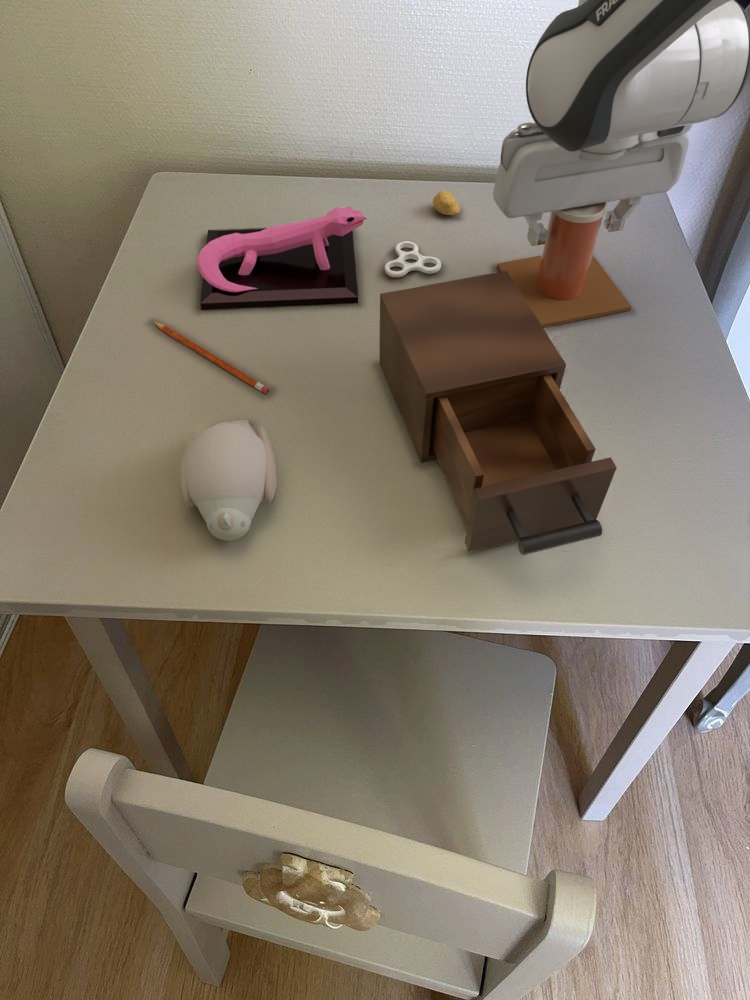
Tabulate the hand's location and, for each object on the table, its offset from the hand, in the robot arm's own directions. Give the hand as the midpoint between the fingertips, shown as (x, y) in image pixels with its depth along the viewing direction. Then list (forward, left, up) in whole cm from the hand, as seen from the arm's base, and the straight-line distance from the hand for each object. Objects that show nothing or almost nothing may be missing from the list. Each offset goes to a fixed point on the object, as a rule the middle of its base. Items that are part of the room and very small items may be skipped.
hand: (574, 235), depth 87 cm
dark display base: (+31, -13, -7) cm, 34 cm away
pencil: (+42, 0, -8) cm, 43 cm away
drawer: (+18, +28, -6) cm, 34 cm away
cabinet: (+18, +14, -7) cm, 24 cm away
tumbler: (0, 0, -7) cm, 7 cm away
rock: (+8, -19, -7) cm, 22 cm away
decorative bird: (+43, +19, -7) cm, 48 cm away
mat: (0, 0, -7) cm, 7 cm away
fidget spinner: (+16, -10, -7) cm, 20 cm away
